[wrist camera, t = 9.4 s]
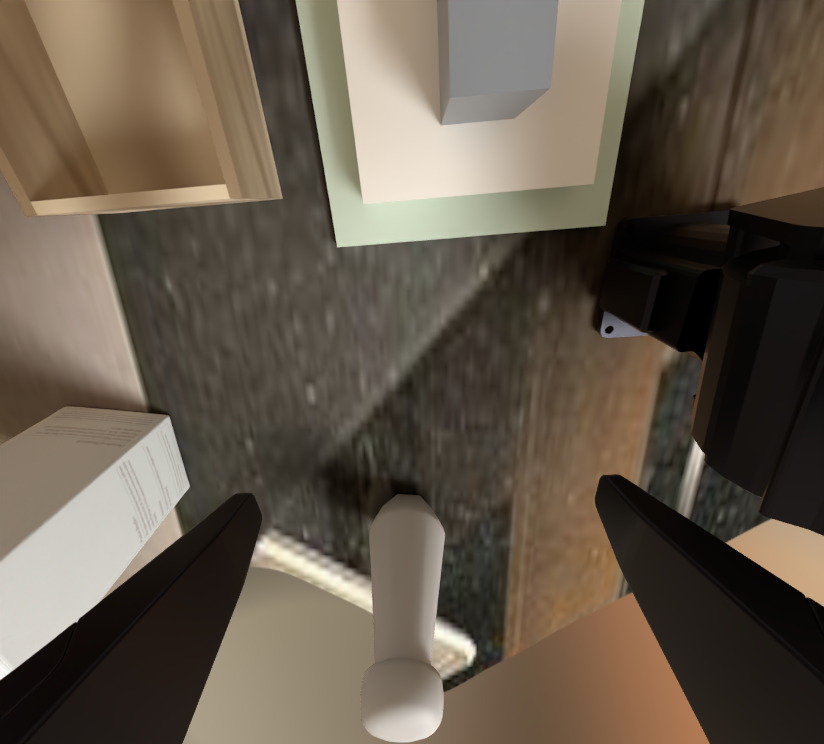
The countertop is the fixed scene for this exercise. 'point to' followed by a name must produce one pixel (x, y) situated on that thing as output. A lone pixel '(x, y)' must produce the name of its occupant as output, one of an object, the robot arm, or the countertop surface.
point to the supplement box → (77, 515)
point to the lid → (476, 93)
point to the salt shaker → (404, 622)
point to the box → (130, 107)
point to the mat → (455, 212)
